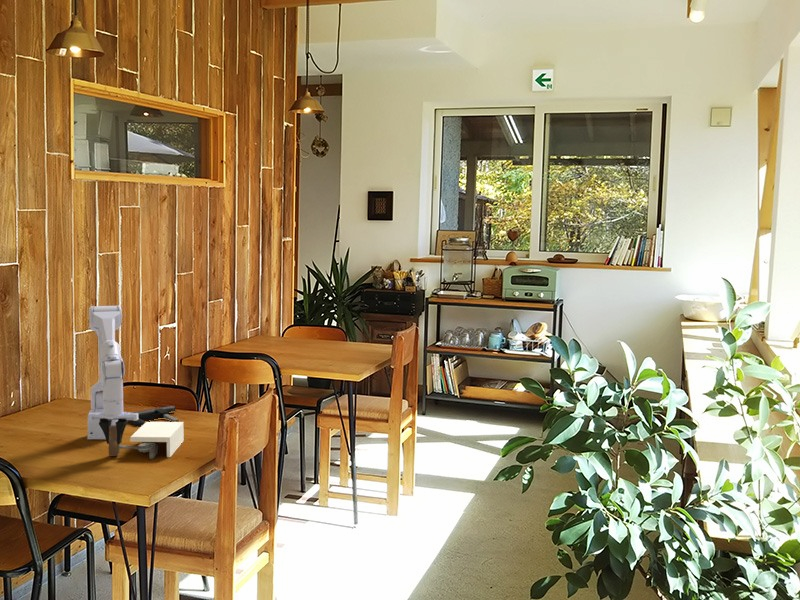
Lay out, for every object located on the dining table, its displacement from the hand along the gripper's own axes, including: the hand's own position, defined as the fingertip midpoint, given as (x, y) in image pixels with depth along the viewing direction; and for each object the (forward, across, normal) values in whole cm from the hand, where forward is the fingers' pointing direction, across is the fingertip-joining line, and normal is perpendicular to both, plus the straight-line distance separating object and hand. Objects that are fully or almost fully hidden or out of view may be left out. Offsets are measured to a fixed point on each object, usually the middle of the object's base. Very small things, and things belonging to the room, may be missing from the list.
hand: (114, 442), depth 256 cm
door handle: (+5, +1, +43) cm, 44 cm away
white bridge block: (+4, +11, +8) cm, 15 cm away
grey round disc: (+4, +8, +6) cm, 11 cm away
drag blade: (+4, +6, 0) cm, 7 cm away
